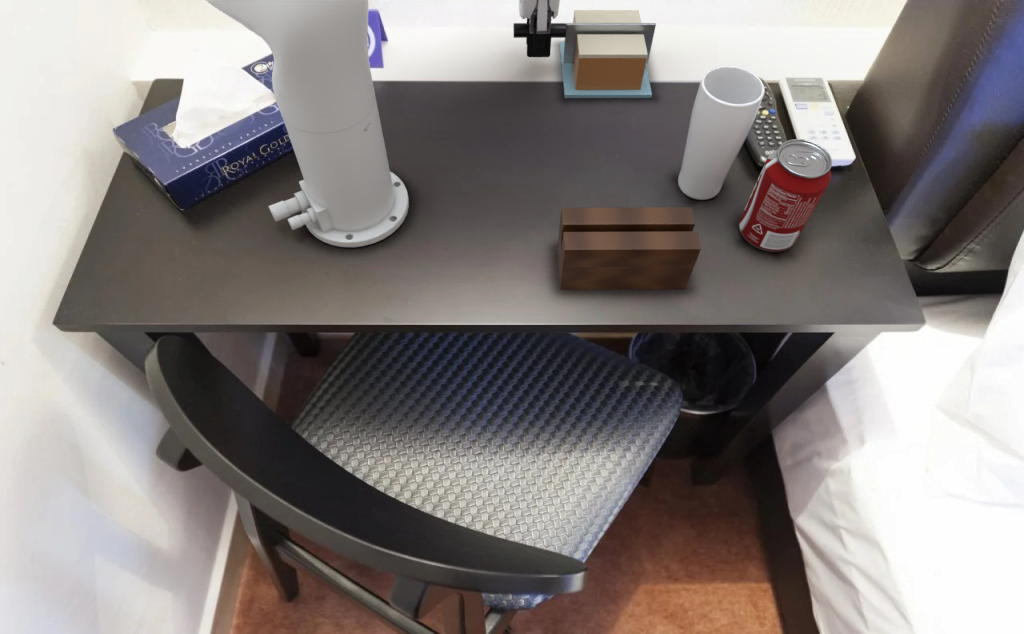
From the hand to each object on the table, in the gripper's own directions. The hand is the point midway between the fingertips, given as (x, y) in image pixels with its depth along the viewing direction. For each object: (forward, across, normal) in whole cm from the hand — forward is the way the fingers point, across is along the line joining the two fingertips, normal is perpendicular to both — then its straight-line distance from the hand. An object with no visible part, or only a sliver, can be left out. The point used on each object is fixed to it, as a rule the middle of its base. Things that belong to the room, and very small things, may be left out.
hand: (538, 49), depth 92 cm
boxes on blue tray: (+3, 0, +10) cm, 10 cm away
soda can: (+4, +30, +26) cm, 40 cm away
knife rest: (+3, +36, +8) cm, 37 cm away
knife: (+2, 0, +6) cm, 6 cm away
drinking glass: (+4, +23, +19) cm, 30 cm away
